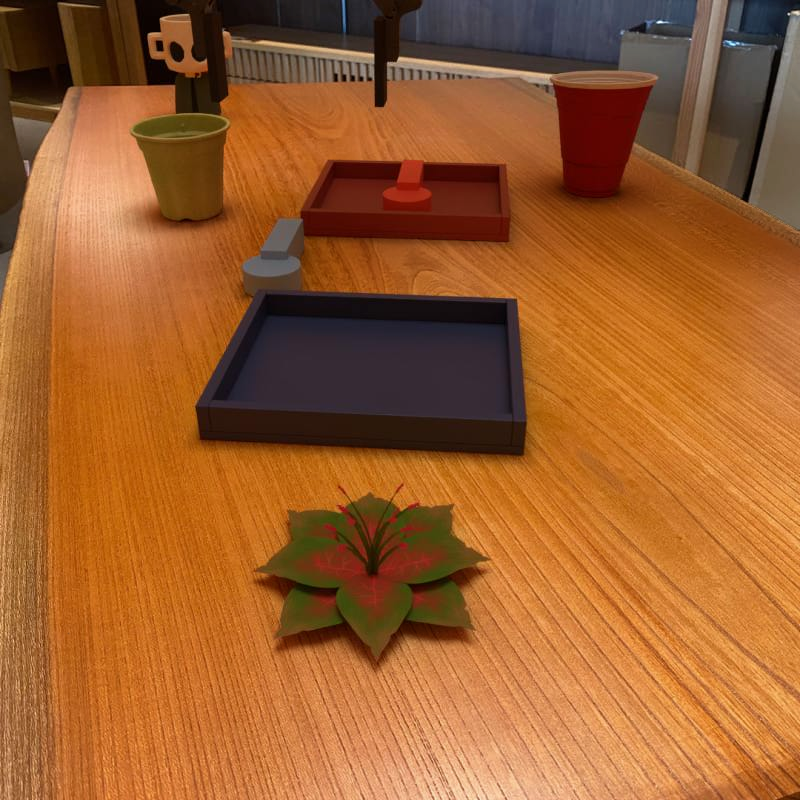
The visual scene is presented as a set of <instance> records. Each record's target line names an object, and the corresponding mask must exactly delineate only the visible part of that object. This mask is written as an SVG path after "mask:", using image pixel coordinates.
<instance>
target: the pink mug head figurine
mask: <svg viewBox="0 0 800 800" xmlns="http://www.w3.org/2000/svg"><path fill="white" fill-rule="evenodd" d="M159 24H160V32H149V33H147V43H148V44H147V45H148V51H149V56H150V58H151V59H153V60H164V62H165V64H166V66H167V68H168V70H170V71H173V72H177V74H176V76H175V80H174V106H175V107H174V108H175V109H174V110H175V114H184V113H201V114H211V115H216V116H221V114H222V111H223V110H222V106H221V102H220V103H219V102H211V95H210V85H209V76H208V67H207V58H206V57H197V55H196V53H195V51H194V45H193V36H192V27H191V19H190V16H189V14H188V13H182V14H181V13H179V14H172V15H171V14H170V15H166V16H162V17H160V18H159ZM157 41H162V45H163V50H162V51H158V49H157ZM223 41H224V51H225V59H229V58H232V57H233V53H234V52H233V44H232V35H231V33H230V32H229V31H224V30H223Z"/></svg>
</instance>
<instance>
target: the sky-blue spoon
mask: <svg viewBox="0 0 800 800" xmlns="http://www.w3.org/2000/svg"><path fill="white" fill-rule="evenodd" d="M305 248H306V245H305V235H304V229H303V219H301V218H281V217H280V218H278V220H277V221H276V222H275V224H274V226H273V228H272V230H271V231H270V233H269V235H268V236H267V238H266V240H265V242H264V243H263V245H262V246H261V248H260V250H259V251H260V252H259V253H260V254H258V255H255V256H252V257H249V258H248V259H246V260H245V261H244V262H243V263H242V265H241V273H242V281H243V283H242V284H243V289H244V291H245V293H246V294H247V295H248V296H251V297H253V298H254V296H255V294H256V292H257V290H258V289H267V290H269V289H270V290H297V291H301V290H302V287H303V277H302V262H301V260H300V259H301V257H302V255H303V253H304V250H305Z"/></svg>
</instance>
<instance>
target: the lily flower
mask: <svg viewBox="0 0 800 800" xmlns="http://www.w3.org/2000/svg"><path fill="white" fill-rule="evenodd" d="M369 478H372V476H370V477H369ZM404 486H405V484H404V482H402V483H400V485H399V486H398V487H397V489H395V493H394V494H393V496H392V497H391V499H390V500H388V499H385V498H382V497H375V494H373V493H372V492H371V491H369V492H368V493H366V495H363V496H361V497H359V498H358V500H353V501H352V499H351V498H350V496H349V495H348V494H347V492H346V491H345V489H344V488H343V487H342V486H341V485H340V484H337V488H338V489H339V490H340V491H341V492H342V494H343V495H344V496H346V497H347V499H348V501H349V502H350V503H348V504H347V505H345V506H343V505H342V504H336V505H335V507H336V508H337V507H338V510H340V511H341V512H337V511H333V510H328V509H306V510H302V511H299V512H298V511H297V510H292V509H285V510H286V514H287V515H288V517H287V518H288V522H289V523H290V525H289V531H290V535H291V538H292V541H290V542H288V543H287V544H285V545H284V546H283V547H282V548H281V549H279V550H278V551H277V552H276V553H274V554H273V555H272V556H271V557H269V560H268V561H267V562H266V564H265V565H260V566H259V567H257V568H256V569H253V570H251V573H261V574H265V575H275V577H279V578H285V579H289V580H291V581H294V582H296V583H297V584H296V585H294V586H293V588H291V589H290V591H289V592H288V594H287V596H286V597H285V600H284V603H283V606H282V608H281V613H280V618H279V622H280V628H278V629H277V631H276V633H275V635H274V636H273V638H272V640H277V639H279V638H282V637H287V636H292V635H295V634H300V633H301V632H303V631H305V632H310V631H314V630H318V629H322V628H327V627H332V626H336V625H339V624H342V623H345V622H347V623H348V624H349V626H350V627H351V629H352V630H353V631H354V633H356V635H357V636H358V638H359V639H360V640H361V641H362V642H363V643H364V644H366V646H368V647H369V648H370V652H371V654H372V656H373V657H374V659H375V662H378V661H379V659H380V657H381V654H382V652H383V651H384V650H385V648H386V646H387V645H388V643H389V642H390V641H391V635H394V634H396V632H397V631H398V630H399V628H400V626H401V625H402V623H403V621H404V620H406V621H411V622H418V623H426V624H431V625H436V626H437V625H438V626H444V627H452V628H454V627H462V629H466V630H469V631H470V630H471V631H474V632H477V629H476V627H475V626H474V625H473V623H472V619H471V616H470V613H469V612H470V611H468V610H466V606H467V603H466V600H465V597H464V595H463V593H462V591H461V589H460V588H459V586H458V585H457V584H456V582H454V581H453V580H452V579H451V578H449V577H448V576H449V575H452V574H453V573H456V572H458V571H459V570H463V569H466V568H470V567H472V566H475V565H477V564H478V563H480V562H481V563H483V562H489V561H493V559H492V558H490V557H488V556H486V555H483V554H482V553H480V552H479V551H477V550H476V549H475V548H473V547H469V546H467V545H466V542H464V541H463V540H461V539H460V538H458V537H457V536H454V535H453V534H451V530H452V527H453V513H452V512H451V511H453V509H454V506H455V505H456V504H455V503H450V504H447V505H446V504H441V505H433V506H431V507H430V506H429V505H420V502H414V503H413V504H412V503H411V504H410V505H408V506H407V507H406V508H404V509H403V510H400V507H398V506H397V505H396V504H395V503H394V502H393V500H394V498H395V496H396V495H397V494H398V493H399V491H400V490H401V489H402V488H403V487H404Z"/></svg>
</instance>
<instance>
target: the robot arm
mask: <svg viewBox="0 0 800 800" xmlns="http://www.w3.org/2000/svg"><path fill="white" fill-rule="evenodd" d="M164 1H165V3H166V4H167V5H169V6H171V7H173V6H175V7H177V8H179V9H181V10H184V11H185V12H187V14H189V16H190V19H191V27H192V36H193V45H194V51H195V53H196V55H197V57H206V58H207V67H208V76H209V85H210V95H211V102H219V103H220V104H221V103H222V102H223V101H224V100H225V99H227V97H228V96H229V95H230V94H229V82H228V73H227V72H228V71H227V63H226V62H227V61H226V58H225V51H224V50H225V46H224V40H223V31H224V30H223V21H222V12H221V11H211V9H212V8H213V4H214V2H216V0H164ZM372 1H373V3H374V4H375V5H376V7H377V8H378V9H379V10H380V12H381V14H382V15H377V16H376V17H375V18H374V20H373V55H374V56H373V71H374V73H373V77H374V78H373V79H374V81H373V82H374V88H373V89H374V92H373V94H374V98H373V99H374V108H384V107H385V105H386V103H387V102H388V63H397V62H398V60H399V58H400V55H401V53H402V51H401V50H402V49H401V47H402V45H401V43H402V42H401V41H402V39H401V37H402V22H401V21H402V17H404V15H407V14H409V13H411V12H415V11H418V10H419V9H421V7H422V5H423V4H424V2H425V0H372Z"/></svg>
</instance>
